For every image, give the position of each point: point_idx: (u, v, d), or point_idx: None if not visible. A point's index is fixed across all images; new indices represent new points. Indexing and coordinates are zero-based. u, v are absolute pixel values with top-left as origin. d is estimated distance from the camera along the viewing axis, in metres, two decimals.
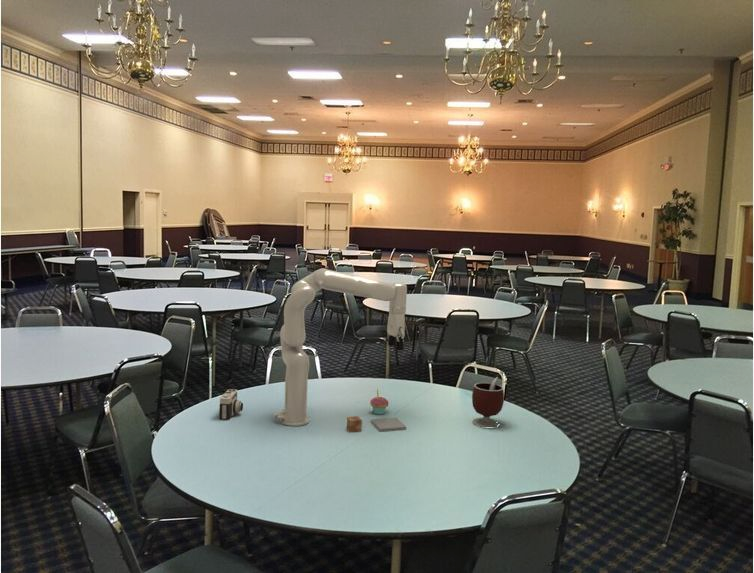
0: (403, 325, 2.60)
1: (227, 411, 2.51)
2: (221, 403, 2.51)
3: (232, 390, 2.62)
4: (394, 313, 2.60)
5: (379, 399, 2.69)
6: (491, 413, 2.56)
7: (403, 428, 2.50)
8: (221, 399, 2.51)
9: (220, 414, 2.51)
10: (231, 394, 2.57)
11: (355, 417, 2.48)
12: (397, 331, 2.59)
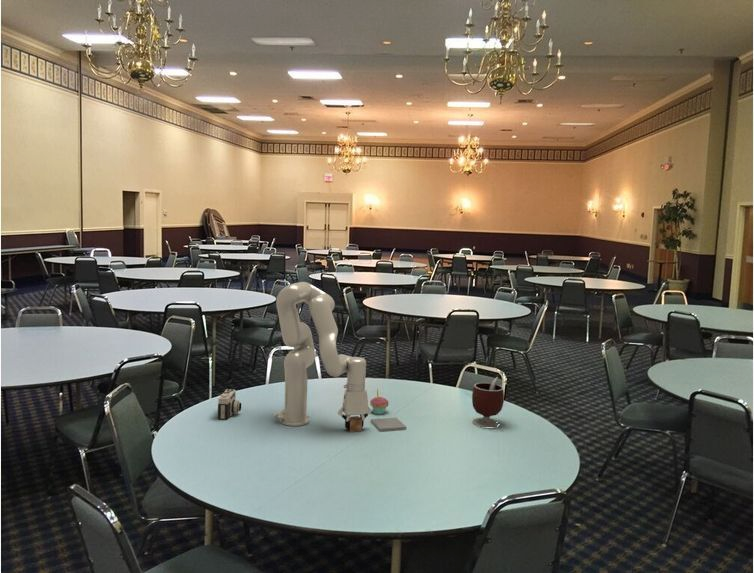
0: None
1: (225, 411, 2.51)
2: (219, 403, 2.51)
3: (230, 390, 2.62)
4: (363, 390, 2.44)
5: (379, 399, 2.69)
6: (491, 413, 2.56)
7: (403, 428, 2.50)
8: (219, 399, 2.51)
9: (218, 414, 2.51)
10: (229, 394, 2.57)
11: (355, 417, 2.48)
12: None
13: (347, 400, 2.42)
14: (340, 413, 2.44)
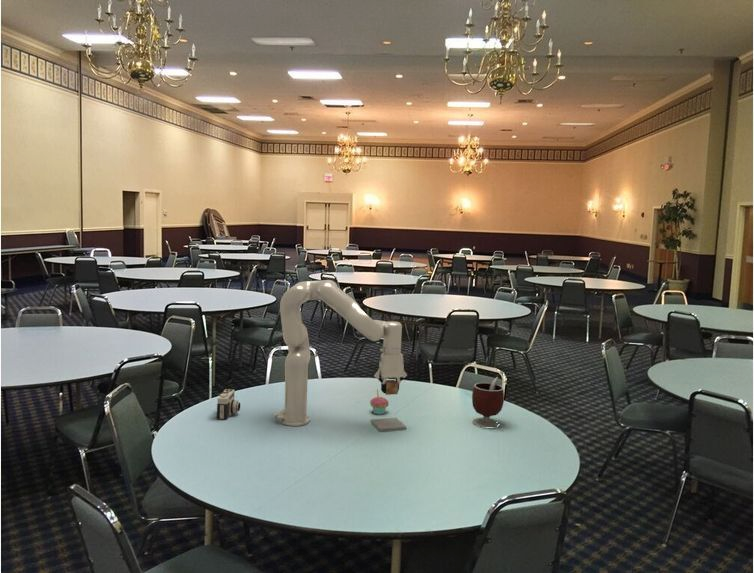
0: None
1: (225, 411, 2.51)
2: (219, 403, 2.51)
3: (229, 390, 2.62)
4: (400, 353, 2.49)
5: (379, 399, 2.69)
6: (491, 413, 2.56)
7: (403, 428, 2.50)
8: (219, 399, 2.50)
9: (218, 414, 2.51)
10: (228, 394, 2.56)
11: (391, 380, 2.53)
12: None
13: (384, 363, 2.47)
14: (377, 376, 2.49)
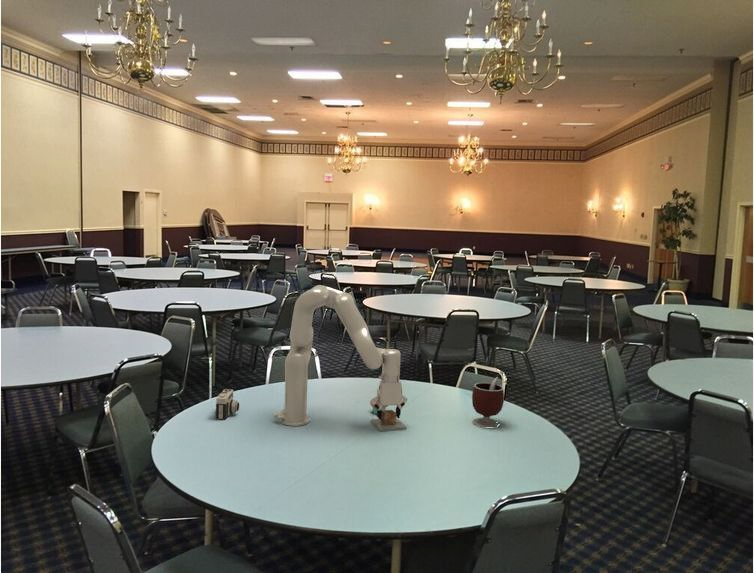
0: None
1: (224, 411, 2.51)
2: (217, 403, 2.51)
3: (228, 390, 2.62)
4: (398, 381, 2.51)
5: None
6: (491, 413, 2.56)
7: (403, 428, 2.50)
8: (217, 399, 2.50)
9: (216, 414, 2.51)
10: (227, 394, 2.56)
11: (389, 411, 2.55)
12: None
13: (382, 391, 2.49)
14: (373, 401, 2.50)
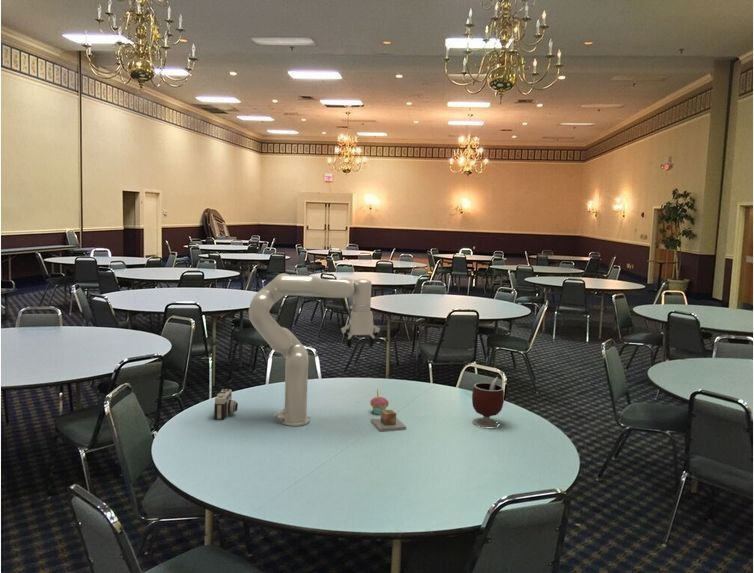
0: None
1: (222, 411, 2.51)
2: (216, 403, 2.50)
3: (226, 390, 2.61)
4: (369, 311, 2.50)
5: (379, 399, 2.69)
6: (491, 413, 2.56)
7: (403, 428, 2.50)
8: (216, 399, 2.50)
9: (215, 414, 2.51)
10: (226, 394, 2.56)
11: (389, 411, 2.55)
12: None
13: (353, 320, 2.48)
14: (343, 329, 2.49)
